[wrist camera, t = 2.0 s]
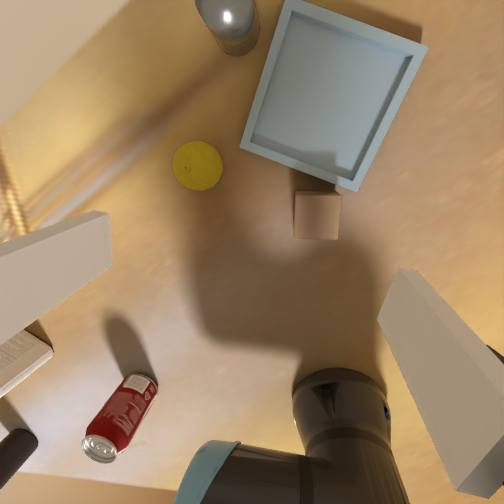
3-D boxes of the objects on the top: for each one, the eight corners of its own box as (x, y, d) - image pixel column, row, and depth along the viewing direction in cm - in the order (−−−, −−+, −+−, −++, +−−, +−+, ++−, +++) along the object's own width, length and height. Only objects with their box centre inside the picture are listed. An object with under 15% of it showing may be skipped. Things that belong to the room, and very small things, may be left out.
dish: (419, 54, 28) (429, 46, 26) (353, 190, 33) (356, 192, 31) (286, 5, 28) (286, -6, 26) (241, 148, 33) (238, 147, 32)
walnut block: (335, 190, 34) (342, 195, 29) (331, 229, 35) (337, 239, 31) (295, 190, 34) (295, 195, 30) (293, 228, 36) (293, 238, 31)
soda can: (132, 364, 48) (83, 426, 37) (164, 382, 49) (126, 448, 37) (121, 387, 51) (72, 452, 39) (152, 404, 51) (112, 473, 40)
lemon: (180, 164, 35) (150, 166, 28) (207, 133, 33) (183, 125, 26) (209, 195, 36) (187, 205, 29) (237, 166, 34) (222, 168, 27)
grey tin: (266, 10, 28) (258, -35, 22) (250, 62, 30) (239, 35, 24) (222, -6, 29) (202, -55, 22) (210, 47, 30) (187, 16, 24)
